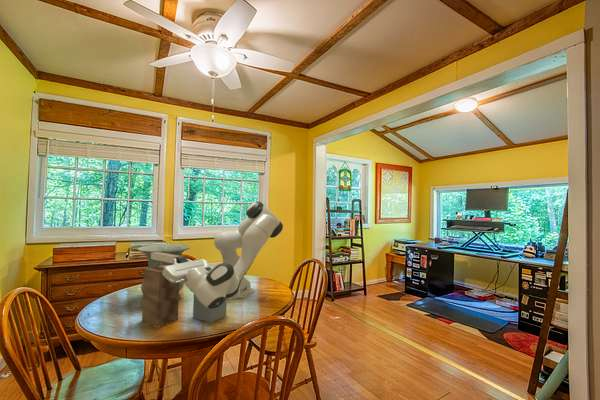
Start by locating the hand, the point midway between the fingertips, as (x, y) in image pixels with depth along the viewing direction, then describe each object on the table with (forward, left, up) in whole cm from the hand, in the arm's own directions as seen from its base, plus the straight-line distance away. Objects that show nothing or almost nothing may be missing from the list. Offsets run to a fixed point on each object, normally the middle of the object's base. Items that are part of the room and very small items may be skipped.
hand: (178, 258), depth 122 cm
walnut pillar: (0, -11, -30) cm, 32 cm away
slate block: (-16, +4, -30) cm, 34 cm away
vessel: (-17, -35, -30) cm, 49 cm away
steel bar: (0, -7, -2) cm, 7 cm away
